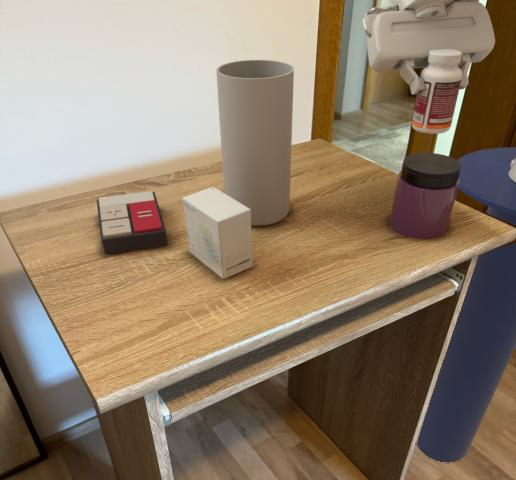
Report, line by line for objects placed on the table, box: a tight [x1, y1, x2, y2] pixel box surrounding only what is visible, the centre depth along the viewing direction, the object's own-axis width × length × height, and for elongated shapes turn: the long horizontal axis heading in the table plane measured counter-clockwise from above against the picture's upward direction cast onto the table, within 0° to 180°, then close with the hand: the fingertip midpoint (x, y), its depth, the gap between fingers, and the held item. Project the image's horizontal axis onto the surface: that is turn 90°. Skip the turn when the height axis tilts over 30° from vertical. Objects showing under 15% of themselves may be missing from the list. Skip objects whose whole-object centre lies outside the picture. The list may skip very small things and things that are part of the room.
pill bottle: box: [411, 49, 462, 135], centre depth 76 cm, size 6×6×11 cm
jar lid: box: [400, 152, 461, 188], centre depth 84 cm, size 10×10×2 cm
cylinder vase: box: [215, 59, 295, 227], centre depth 87 cm, size 12×12×25 cm
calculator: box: [96, 190, 168, 255], centre depth 89 cm, size 11×4×15 cm
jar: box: [389, 170, 460, 240], centre depth 87 cm, size 10×10×11 cm
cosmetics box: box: [182, 186, 254, 280], centre depth 79 cm, size 10×6×10 cm, turn 37°
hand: (440, 89), depth 75 cm, fingers closed on pill bottle, 6 cm apart
